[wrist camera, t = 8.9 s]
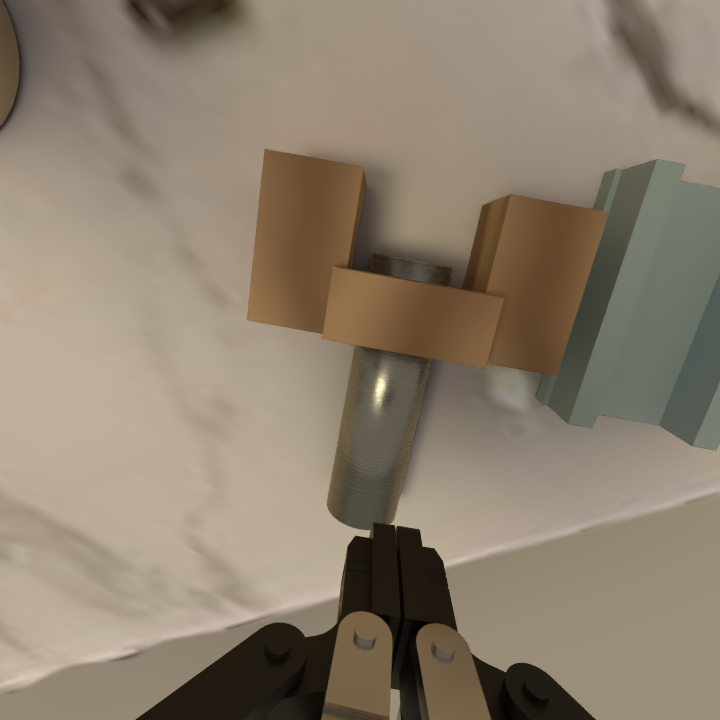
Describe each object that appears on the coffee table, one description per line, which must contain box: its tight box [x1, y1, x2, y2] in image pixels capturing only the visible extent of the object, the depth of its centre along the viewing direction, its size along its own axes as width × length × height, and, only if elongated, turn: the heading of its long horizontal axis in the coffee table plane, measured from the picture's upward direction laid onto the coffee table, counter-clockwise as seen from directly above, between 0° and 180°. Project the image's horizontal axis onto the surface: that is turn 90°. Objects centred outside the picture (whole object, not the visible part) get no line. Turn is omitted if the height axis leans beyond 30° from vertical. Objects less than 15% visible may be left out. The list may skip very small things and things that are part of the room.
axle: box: [327, 253, 453, 530], centre depth 22 cm, size 14×4×4 cm, turn 170°
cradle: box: [536, 159, 720, 451], centre depth 20 cm, size 8×12×4 cm, turn 170°
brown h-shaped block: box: [247, 149, 609, 376], centre depth 19 cm, size 14×7×6 cm, turn 80°
